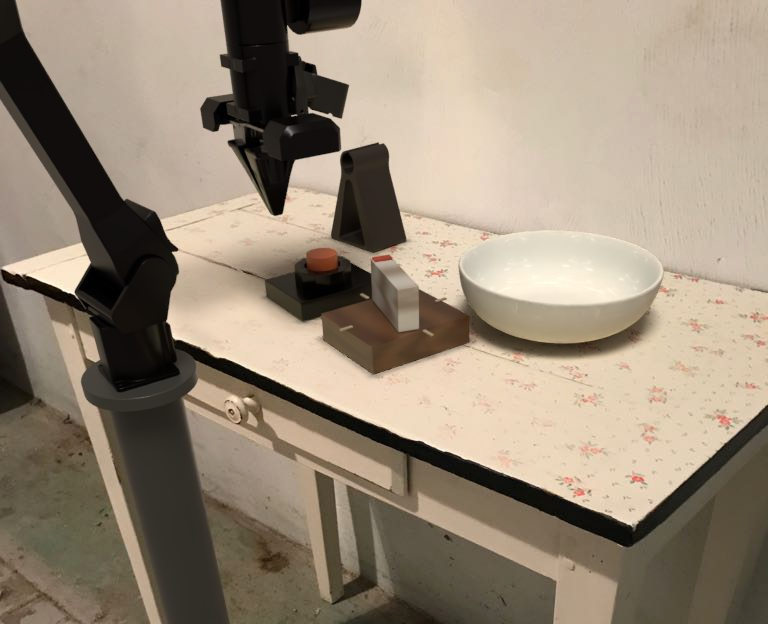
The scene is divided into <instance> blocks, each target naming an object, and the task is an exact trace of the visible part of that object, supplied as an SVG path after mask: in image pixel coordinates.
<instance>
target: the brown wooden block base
mask: <svg viewBox="0 0 768 624" xmlns="http://www.w3.org/2000/svg"><path fill="white" fill-rule="evenodd" d="M360 296H362V297H364V298H365V299H369V297H368V296H366V295H365V294H363V293H362V294H360ZM447 299H448V298H447V297H446V296H444V297H441V298H438V297H435V296H433V295H431V294H430V293H427V292H425V291H424V290H421V289H420V288H419V329H417V330H411V331H405V332H398V331H397V330H396V329H395V327H394V326H393V325H392V324H391V322H390V321H389V320H388V319H387V317H386V316H385V315H384V314H383V312H382V311H381V310H380V309H379V307H378V306H377V305H376V304H375V302H374V301H373V300H372V299H370V300H367V301H363V302H360V303H356V304H353V305H349V306H346V307H342V308H339V309H336V310H332V311H329V312H325V313H322V314H321V316H320V317H321V326H322V339H323V341H324V342H326V343H327V344H329V345H330V346H331V347H333V348H334V349H336V350H337V351H339V352H340V353H342V354H343V355H345V356H346V357H347V358H349V359H350V360H352V361H353V362H355V363H356V364H358V366H360V367H362V368H363V369H365V370H367V372H369V373H371V374H372V375H376V374H379V373H381V372H386V371H388V370H391V369H394V368H396V367H401V366H403V365H406V364H409V363H412V362H415V361H418V360H420V359H423V358H426V357H430V356H432V355H435V354H438V353H442V352H445V351H448V350H451V349H453V348H456V347H459V346H462V345H466V344H468V343H470V335H471V334H470V333H471V332H470V330H471V325H470V324H471V315H470V314H468V313H466V312H464V311H463V310H461V309H458V308H456V307H454V306H452V305H450V304H449V303H447V302H445V301H447Z"/></svg>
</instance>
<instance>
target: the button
mask: <svg viewBox="0 0 768 624" xmlns="http://www.w3.org/2000/svg"><path fill="white" fill-rule="evenodd" d="M337 256H338V251H337V250H336V249H334V248H330V247H317V248H313V249H310V250H308V251H306V253H305V258H306V262H307V269H308V270H311V271H329V270H333V269H336V268H337V267H338V258H337Z"/></svg>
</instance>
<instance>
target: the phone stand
mask: <svg viewBox="0 0 768 624" xmlns="http://www.w3.org/2000/svg"><path fill="white" fill-rule="evenodd" d="M339 165H340V180H339V184H338V191H337V198H336V203H335V207H334V208H335V209H334V214H333V221H332V227H331V232H330V237H331V238H332V239H333V240H335V241H339V242H341V243H345V244H347V245H350V246H353V247H356V248H359V249H362V250H364V251H368V252H370V253H375V252H378V251H381V250H384V249H387V248H389V247H390V248H391V247H392V246H396V245H398V244H401V243H404V242H406V241H407V235H406V231H405V227H404V226H405V225H404V223H403V220H402V214H401V210H400V207H399V203H398V199H397V194H396V191H395V190H396V189H395V187H394V183H393V179H392V175H391V171H390V152H389V149H388V146H387V145H386V144H385V143H380V142H379V141H378V142H374V143H370V144H365V145H362V146H359V147H354V148H351V149H347V150H346V149H345V150H344V151H342V152H341V154H340V156H339Z"/></svg>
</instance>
